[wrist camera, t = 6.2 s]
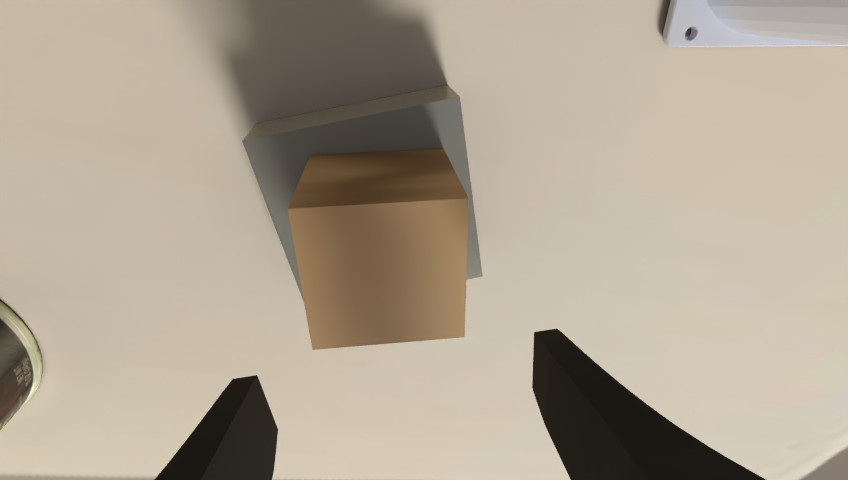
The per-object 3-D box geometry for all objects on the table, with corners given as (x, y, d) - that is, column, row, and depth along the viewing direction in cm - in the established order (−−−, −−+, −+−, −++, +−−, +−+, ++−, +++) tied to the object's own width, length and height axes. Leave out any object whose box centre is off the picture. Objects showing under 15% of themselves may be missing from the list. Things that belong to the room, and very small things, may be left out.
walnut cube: (443, 148, 17) (468, 198, 12) (443, 261, 19) (464, 337, 15) (310, 154, 16) (287, 208, 12) (326, 269, 19) (312, 349, 14)
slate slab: (446, 83, 19) (459, 96, 16) (468, 244, 23) (482, 276, 20) (259, 121, 18) (242, 140, 16) (314, 276, 22) (308, 313, 20)
